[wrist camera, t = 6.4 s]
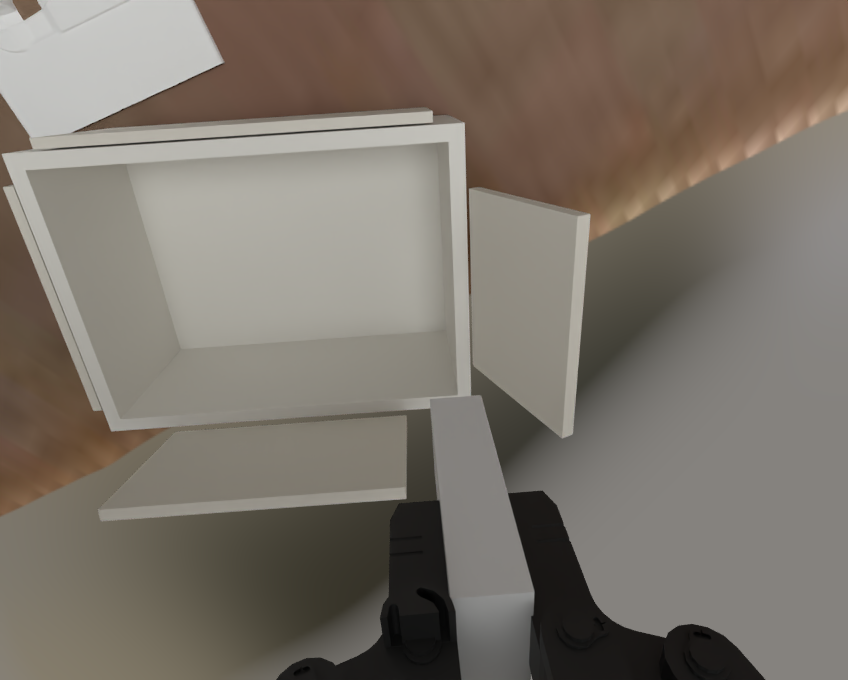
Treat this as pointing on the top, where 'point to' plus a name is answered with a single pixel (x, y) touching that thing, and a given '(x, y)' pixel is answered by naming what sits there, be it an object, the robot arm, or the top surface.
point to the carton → (254, 264)
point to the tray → (96, 58)
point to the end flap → (528, 300)
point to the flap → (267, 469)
